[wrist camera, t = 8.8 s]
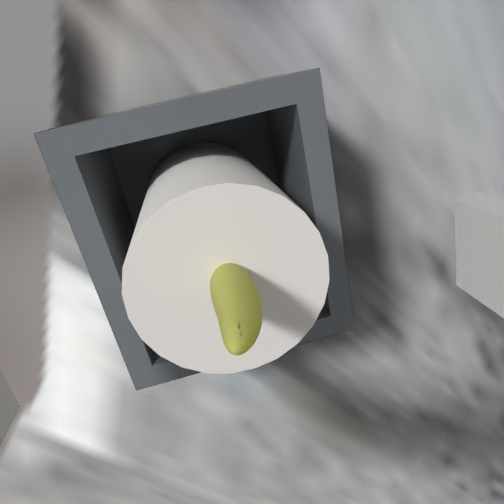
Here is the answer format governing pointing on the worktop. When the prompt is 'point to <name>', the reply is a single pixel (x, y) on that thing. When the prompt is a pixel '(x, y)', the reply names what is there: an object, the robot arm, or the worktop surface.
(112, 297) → the slate holder
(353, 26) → the worktop surface
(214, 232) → the candle
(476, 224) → the robot arm
